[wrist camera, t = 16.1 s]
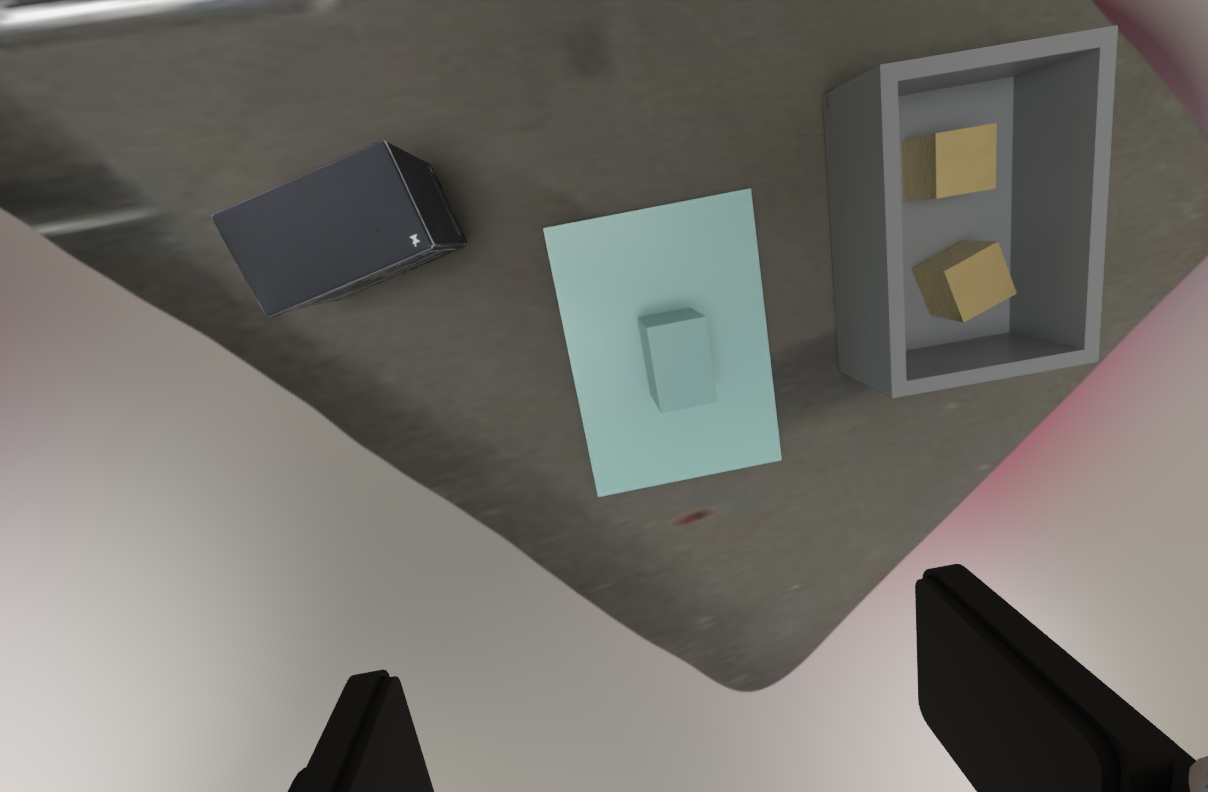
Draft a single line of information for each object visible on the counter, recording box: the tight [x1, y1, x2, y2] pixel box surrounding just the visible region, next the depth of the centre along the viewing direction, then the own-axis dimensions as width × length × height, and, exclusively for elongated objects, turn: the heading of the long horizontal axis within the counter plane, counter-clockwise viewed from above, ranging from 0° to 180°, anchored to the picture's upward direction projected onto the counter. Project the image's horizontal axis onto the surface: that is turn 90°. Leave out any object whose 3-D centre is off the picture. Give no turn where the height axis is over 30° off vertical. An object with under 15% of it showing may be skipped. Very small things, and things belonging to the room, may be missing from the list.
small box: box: [212, 140, 466, 318], centre depth 38 cm, size 11×6×10 cm, turn 112°
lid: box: [543, 188, 782, 497], centre depth 44 cm, size 21×15×6 cm
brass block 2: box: [911, 240, 1017, 323], centre depth 43 cm, size 4×4×4 cm
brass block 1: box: [902, 123, 997, 201], centre depth 41 cm, size 4×4×4 cm
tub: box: [822, 25, 1118, 398], centre depth 41 cm, size 20×14×8 cm
